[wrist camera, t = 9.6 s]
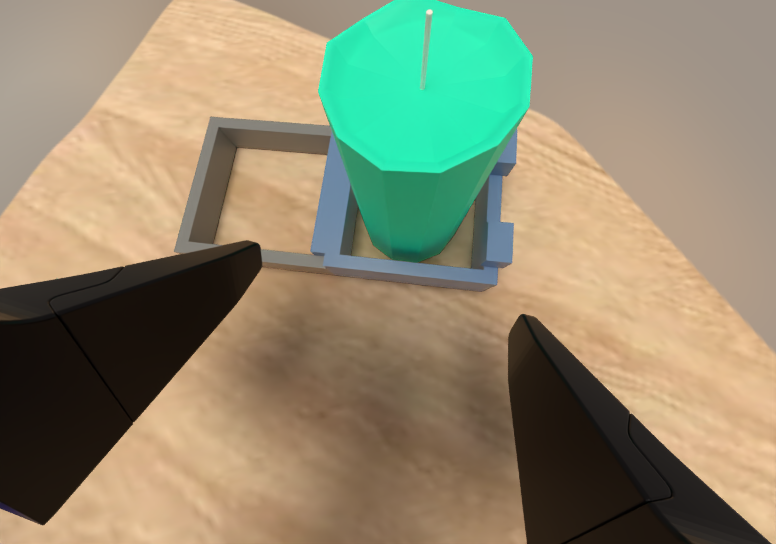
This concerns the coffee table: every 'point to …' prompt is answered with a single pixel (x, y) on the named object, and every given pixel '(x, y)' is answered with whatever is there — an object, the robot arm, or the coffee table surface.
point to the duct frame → (338, 210)
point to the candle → (422, 116)
